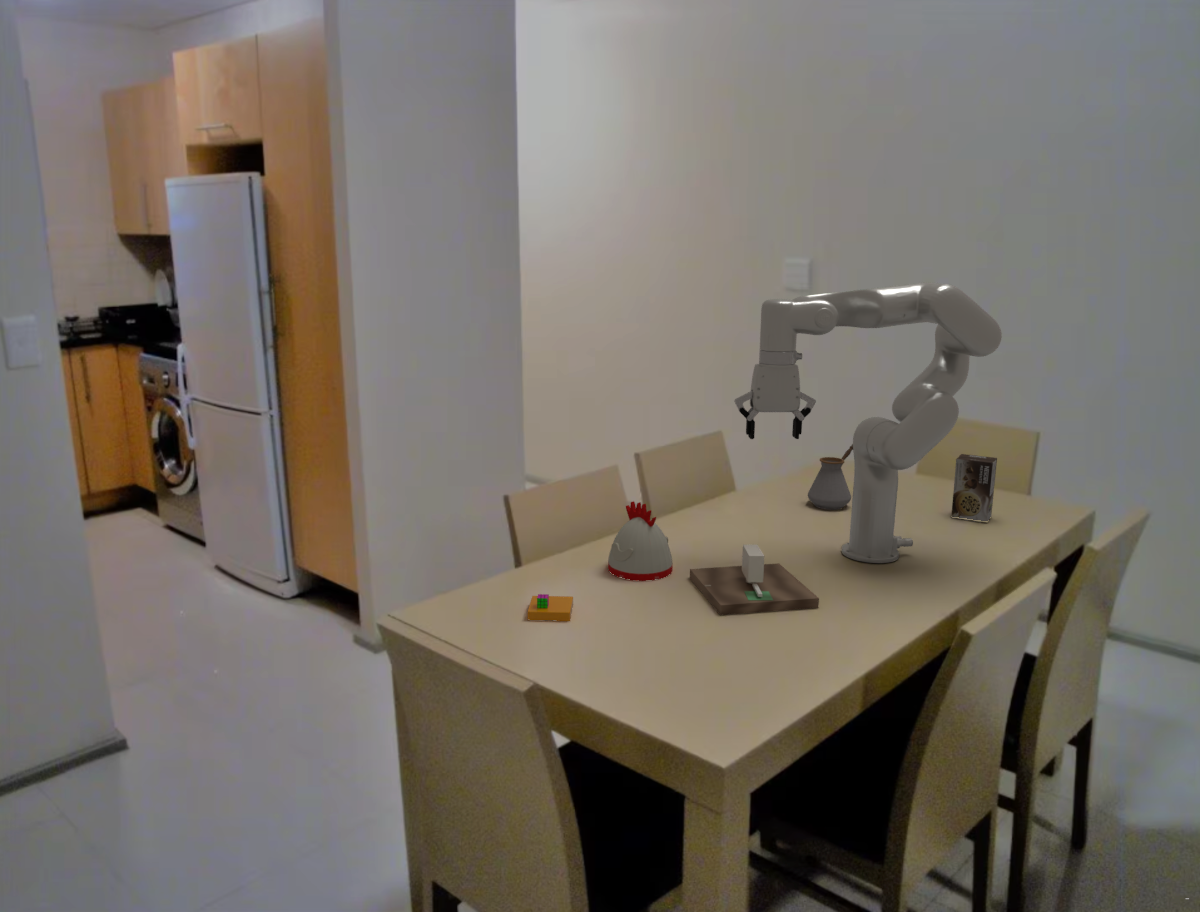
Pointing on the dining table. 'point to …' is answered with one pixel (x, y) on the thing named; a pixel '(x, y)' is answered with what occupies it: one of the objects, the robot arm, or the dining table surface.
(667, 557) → the chicken figurine
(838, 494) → the coffee pot
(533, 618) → the orange block with cube
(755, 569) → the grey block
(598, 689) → the dining table surface
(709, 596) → the dial board
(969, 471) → the coffee box
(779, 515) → the dining table surface
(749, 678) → the dining table surface
